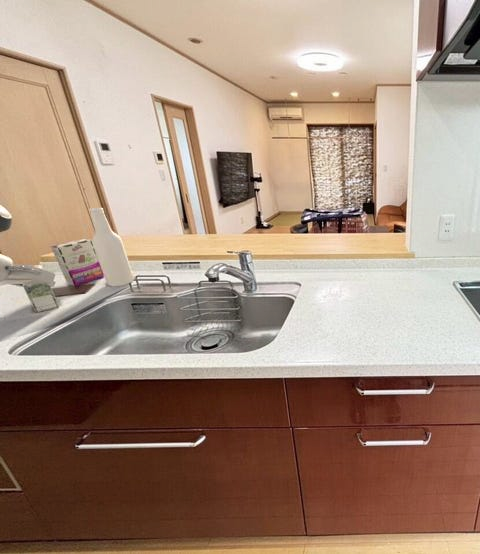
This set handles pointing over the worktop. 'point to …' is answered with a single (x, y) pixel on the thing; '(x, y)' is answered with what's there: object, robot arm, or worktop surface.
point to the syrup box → (40, 296)
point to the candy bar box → (78, 261)
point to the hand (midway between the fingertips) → (38, 284)
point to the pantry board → (72, 290)
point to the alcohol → (110, 251)
